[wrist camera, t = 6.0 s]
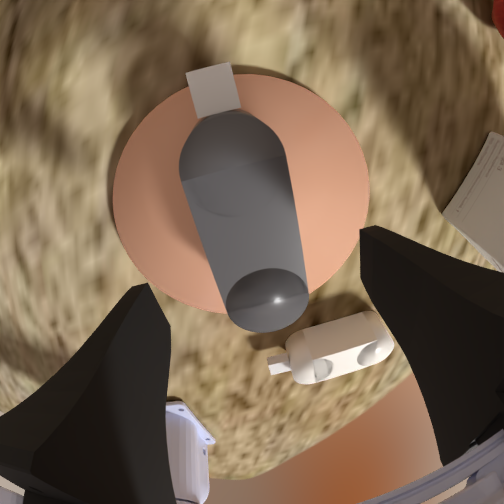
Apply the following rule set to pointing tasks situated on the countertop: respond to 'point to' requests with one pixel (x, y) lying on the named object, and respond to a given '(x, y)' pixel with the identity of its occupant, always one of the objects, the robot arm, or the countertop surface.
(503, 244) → the supplement box
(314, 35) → the countertop surface
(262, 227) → the charcoal plug
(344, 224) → the coaster
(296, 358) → the white plug
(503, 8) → the onion
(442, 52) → the countertop surface
